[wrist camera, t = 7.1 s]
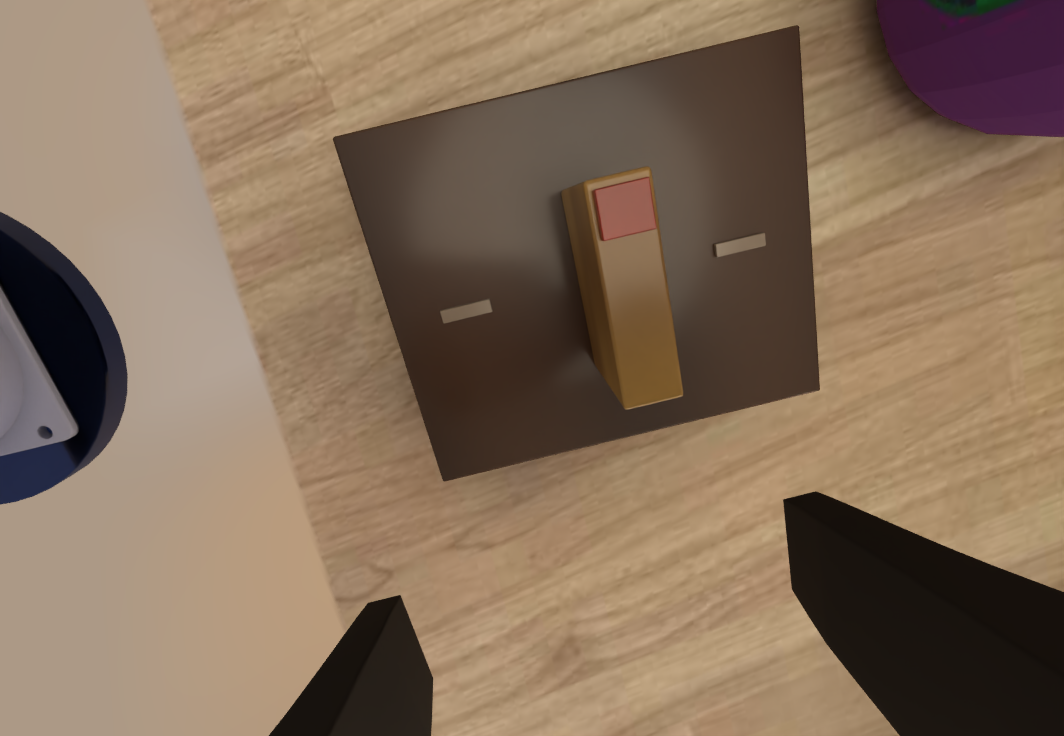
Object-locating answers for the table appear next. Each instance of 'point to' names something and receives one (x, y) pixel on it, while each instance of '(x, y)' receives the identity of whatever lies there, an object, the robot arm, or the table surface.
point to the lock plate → (547, 258)
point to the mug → (982, 60)
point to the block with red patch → (624, 285)
